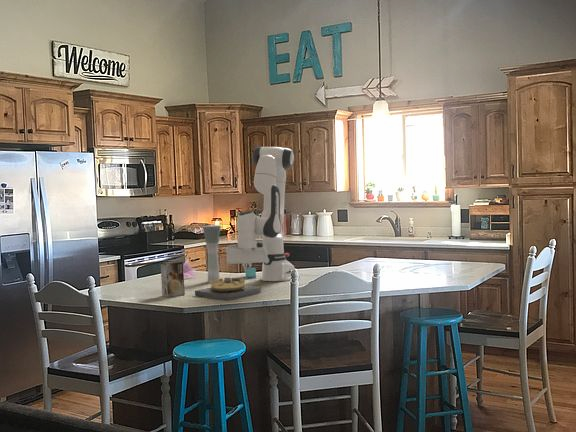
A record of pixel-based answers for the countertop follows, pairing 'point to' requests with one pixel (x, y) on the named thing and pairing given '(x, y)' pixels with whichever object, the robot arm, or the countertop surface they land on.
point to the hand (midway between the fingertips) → (247, 272)
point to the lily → (188, 270)
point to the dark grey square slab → (227, 293)
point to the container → (212, 251)
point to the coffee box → (172, 279)
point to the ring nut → (233, 282)
